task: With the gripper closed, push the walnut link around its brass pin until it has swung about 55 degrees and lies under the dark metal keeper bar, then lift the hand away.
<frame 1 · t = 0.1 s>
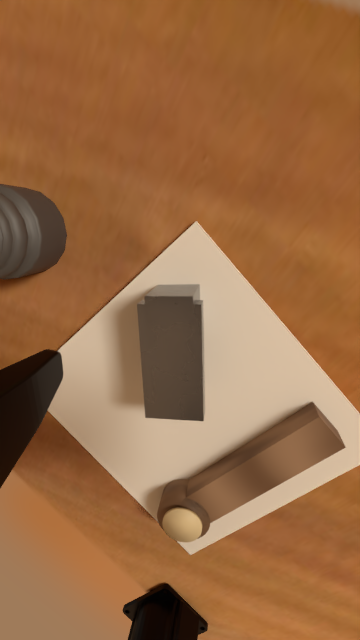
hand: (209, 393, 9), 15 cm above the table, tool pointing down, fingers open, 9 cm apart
keeper: (176, 349, 23), point 2 cm above the table
candle holder: (29, 231, 25), on the table
pivot plate: (187, 494, 30), on the table
link: (240, 476, 26), point 2 cm above the table, hinge at 0.0°
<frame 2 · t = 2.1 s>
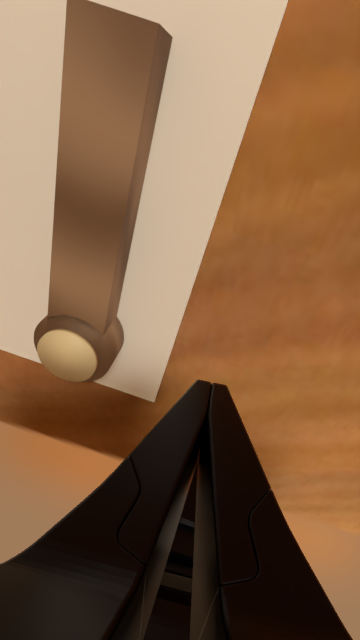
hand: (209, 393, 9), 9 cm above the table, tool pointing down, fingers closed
pivot plate: (92, 324, 20), on the table
link: (93, 242, 15), point 2 cm above the table, hinge at 0.0°
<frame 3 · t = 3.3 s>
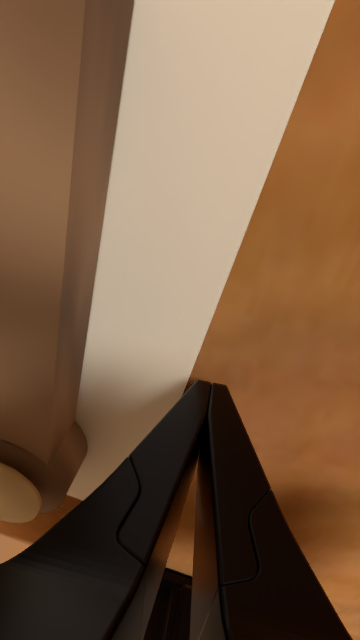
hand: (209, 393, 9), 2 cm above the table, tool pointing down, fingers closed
pivot plate: (44, 422, 14), on the table
link: (23, 334, 10), point 2 cm above the table, hinge at 0.0°
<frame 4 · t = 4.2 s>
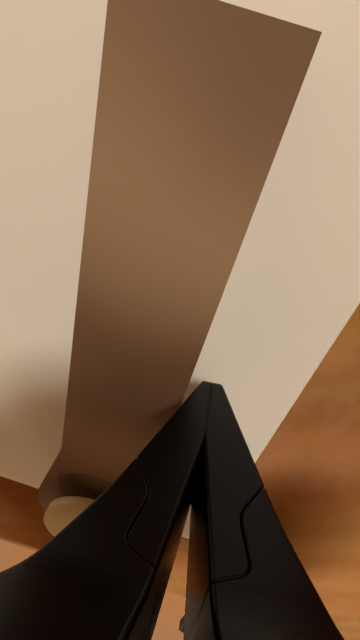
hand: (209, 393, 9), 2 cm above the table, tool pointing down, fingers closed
pivot plate: (119, 451, 14), on the table
link: (132, 377, 10), point 2 cm above the table, hinge at 0.2°, touching gripper
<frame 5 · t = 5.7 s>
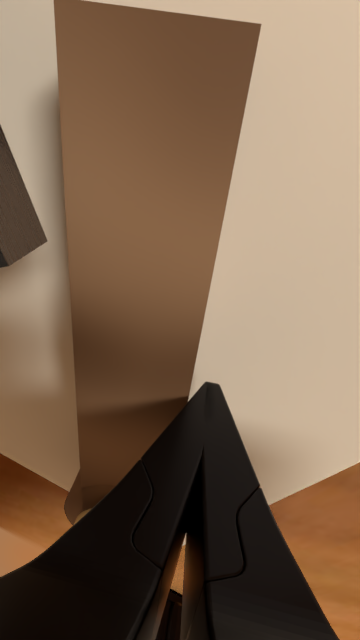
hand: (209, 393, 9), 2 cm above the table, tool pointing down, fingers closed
pivot plate: (140, 460, 14), on the table
link: (138, 384, 10), point 2 cm above the table, hinge at 31.0°, touching gripper
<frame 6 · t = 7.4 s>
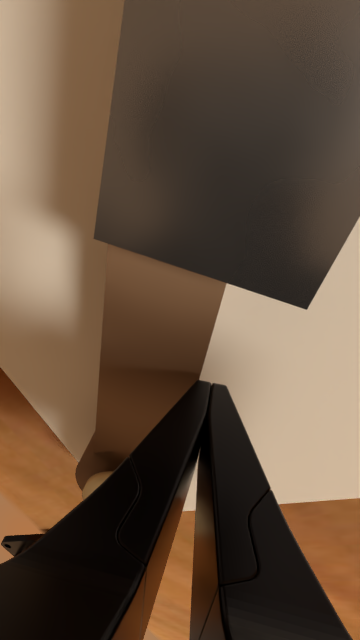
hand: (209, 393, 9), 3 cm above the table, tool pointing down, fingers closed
pivot plate: (145, 436, 15), on the table
link: (155, 359, 11), point 2 cm above the table, hinge at 54.9°
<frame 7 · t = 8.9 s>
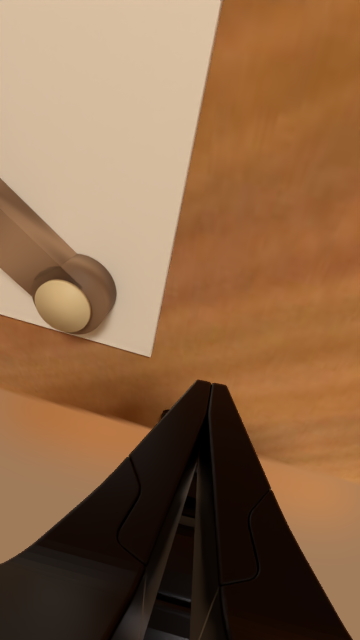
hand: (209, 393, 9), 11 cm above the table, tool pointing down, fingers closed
pivot plate: (86, 283, 21), on the table
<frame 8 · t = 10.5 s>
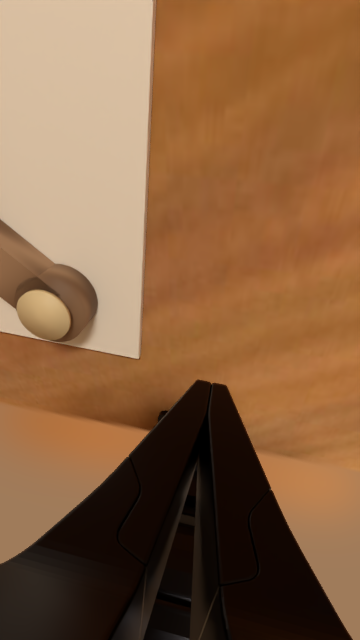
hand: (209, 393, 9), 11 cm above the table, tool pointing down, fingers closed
pivot plate: (69, 292, 22), on the table
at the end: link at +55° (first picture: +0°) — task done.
